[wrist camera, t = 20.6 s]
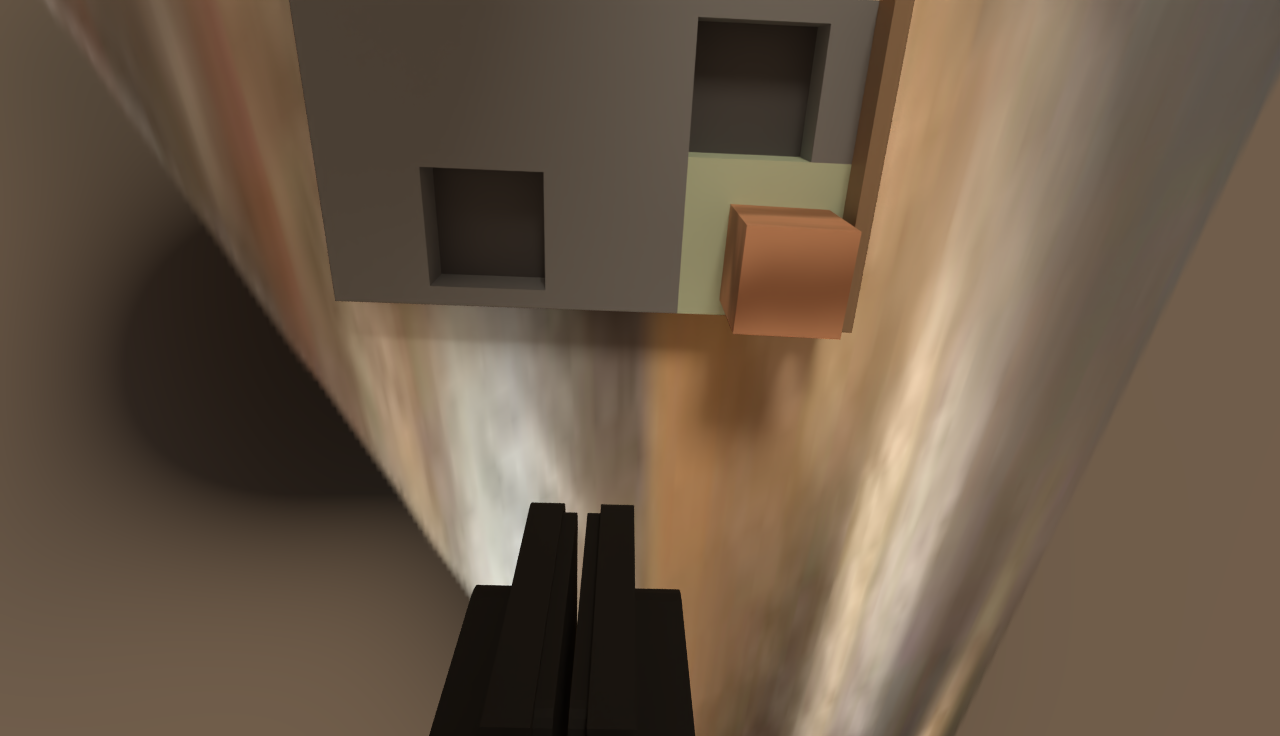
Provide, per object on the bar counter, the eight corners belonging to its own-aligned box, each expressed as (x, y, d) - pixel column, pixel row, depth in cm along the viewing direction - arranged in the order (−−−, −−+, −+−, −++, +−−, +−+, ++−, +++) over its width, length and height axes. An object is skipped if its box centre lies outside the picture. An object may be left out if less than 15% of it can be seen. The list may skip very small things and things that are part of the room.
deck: (309, -23, 31) (260, -39, 26) (877, 6, 31) (915, -4, 27) (353, 286, 37) (319, 313, 33) (827, 304, 38) (851, 332, 33)
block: (730, 204, 33) (747, 225, 28) (829, 209, 33) (861, 232, 28) (719, 299, 35) (733, 333, 30) (812, 304, 35) (840, 339, 30)
